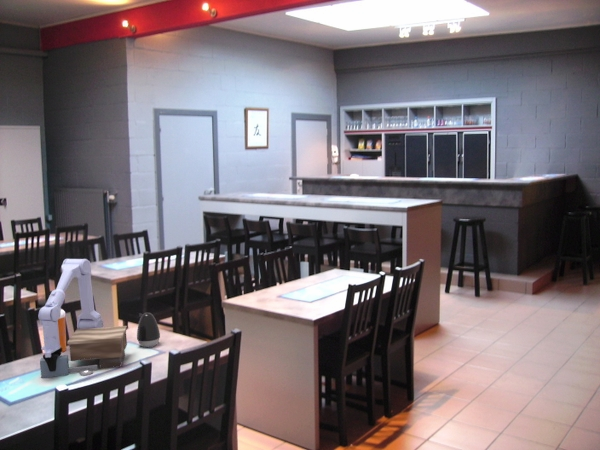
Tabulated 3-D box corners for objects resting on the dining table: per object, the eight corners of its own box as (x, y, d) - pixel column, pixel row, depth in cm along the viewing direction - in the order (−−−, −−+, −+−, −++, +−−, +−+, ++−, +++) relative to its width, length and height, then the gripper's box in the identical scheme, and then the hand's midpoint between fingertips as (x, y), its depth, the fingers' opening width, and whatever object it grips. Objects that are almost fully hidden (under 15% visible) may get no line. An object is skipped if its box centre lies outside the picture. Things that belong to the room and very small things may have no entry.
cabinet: (78, 358, 268) (76, 329, 267) (128, 354, 271) (126, 325, 269) (70, 372, 251) (67, 341, 250) (123, 367, 254) (121, 337, 253)
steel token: (79, 372, 251) (79, 369, 251) (92, 370, 253) (92, 367, 252) (79, 376, 246) (79, 373, 246) (93, 374, 248) (92, 371, 248)
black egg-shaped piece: (150, 340, 289) (147, 308, 287) (165, 344, 283) (163, 311, 281) (132, 346, 281) (130, 313, 279) (147, 350, 275) (145, 317, 273)
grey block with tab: (42, 374, 250) (41, 357, 249) (97, 368, 255) (96, 351, 254) (41, 378, 246) (39, 361, 245) (97, 371, 251) (95, 354, 250)
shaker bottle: (48, 355, 273) (44, 311, 270) (46, 350, 281) (42, 306, 278) (69, 351, 277) (66, 308, 274) (67, 346, 285) (63, 303, 282)
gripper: (45, 331, 254) (48, 363, 255) (35, 342, 239) (38, 376, 241) (63, 330, 255) (66, 362, 256) (54, 341, 240) (57, 374, 242)
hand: (54, 369), depth 249 cm, fingers closed on grey block with tab, 4 cm apart
